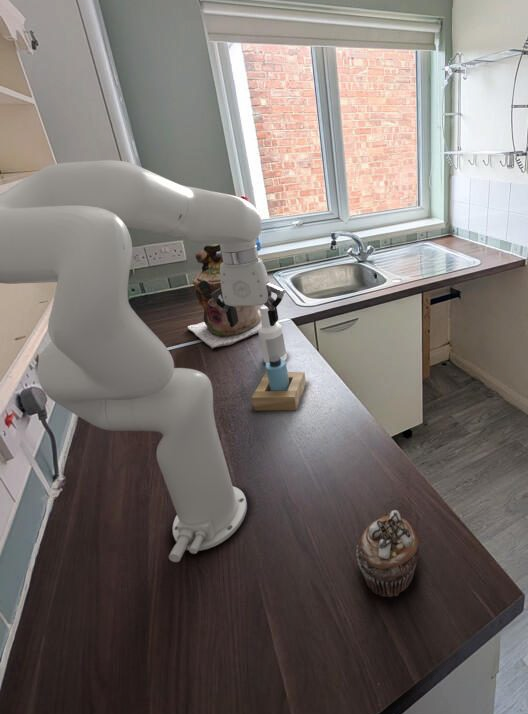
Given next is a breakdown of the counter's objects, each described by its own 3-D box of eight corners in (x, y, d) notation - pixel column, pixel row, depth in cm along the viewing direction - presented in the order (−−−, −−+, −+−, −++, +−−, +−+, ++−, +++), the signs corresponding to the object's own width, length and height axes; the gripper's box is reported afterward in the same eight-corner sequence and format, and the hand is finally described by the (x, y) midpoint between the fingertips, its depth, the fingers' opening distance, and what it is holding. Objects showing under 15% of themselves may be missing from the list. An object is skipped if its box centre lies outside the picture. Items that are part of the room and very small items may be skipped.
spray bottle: (281, 366, 119) (271, 312, 112) (260, 365, 120) (248, 311, 114) (290, 354, 125) (281, 301, 118) (270, 352, 127) (260, 301, 120)
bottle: (288, 401, 104) (281, 364, 99) (269, 402, 104) (261, 364, 99) (293, 389, 108) (287, 353, 104) (275, 390, 108) (268, 353, 104)
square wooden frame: (296, 409, 100) (294, 396, 99) (254, 410, 101) (251, 397, 100) (306, 383, 110) (304, 371, 109) (267, 384, 111) (265, 372, 110)
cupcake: (394, 529, 70) (391, 487, 66) (432, 575, 62) (431, 530, 58) (347, 565, 64) (340, 521, 61) (382, 619, 57) (378, 573, 53)
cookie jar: (249, 306, 161) (232, 228, 148) (281, 324, 144) (266, 238, 132) (186, 329, 145) (161, 244, 133) (214, 353, 128) (189, 258, 116)
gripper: (195, 262, 87) (212, 332, 93) (272, 259, 86) (284, 330, 92) (211, 252, 94) (226, 318, 100) (283, 249, 93) (293, 316, 99)
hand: (254, 324), depth 96 cm, fingers open, 9 cm apart
